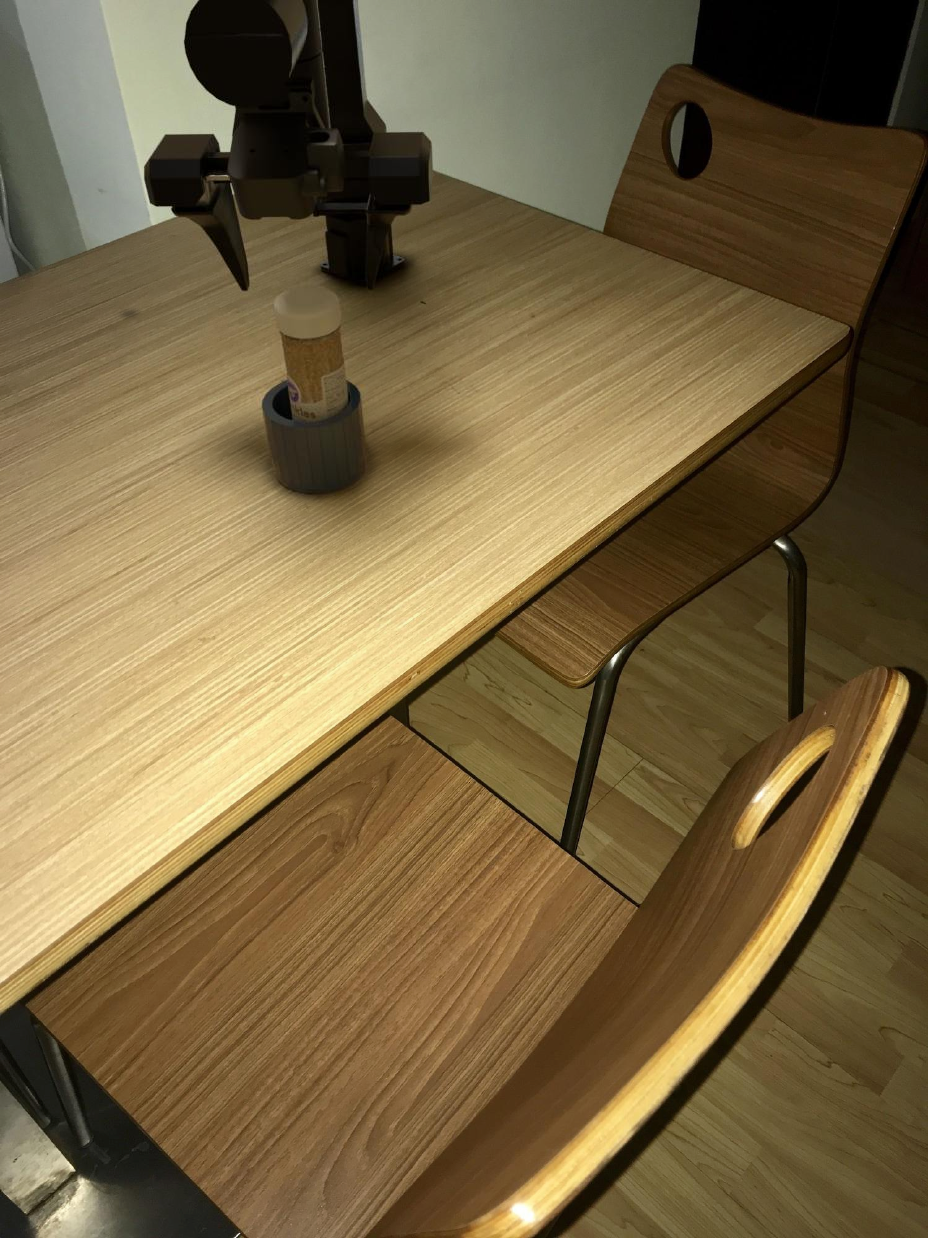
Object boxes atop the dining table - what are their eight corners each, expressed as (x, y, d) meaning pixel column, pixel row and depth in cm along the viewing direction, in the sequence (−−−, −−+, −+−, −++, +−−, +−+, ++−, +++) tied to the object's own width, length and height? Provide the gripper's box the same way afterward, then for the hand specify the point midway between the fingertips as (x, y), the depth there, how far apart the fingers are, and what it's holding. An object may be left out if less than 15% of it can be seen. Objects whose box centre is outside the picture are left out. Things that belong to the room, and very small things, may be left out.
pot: (319, 428, 82) (310, 363, 78) (386, 460, 79) (381, 394, 75) (254, 470, 78) (241, 405, 74) (321, 506, 75) (312, 439, 71)
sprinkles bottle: (286, 460, 78) (258, 300, 69) (327, 434, 81) (306, 276, 71) (326, 482, 76) (304, 320, 67) (368, 455, 78) (352, 295, 69)
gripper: (91, 97, 56) (156, 345, 67) (419, 94, 56) (430, 344, 67) (140, 39, 64) (191, 269, 75) (428, 35, 64) (437, 268, 75)
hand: (308, 288), depth 73 cm, fingers open, 9 cm apart
